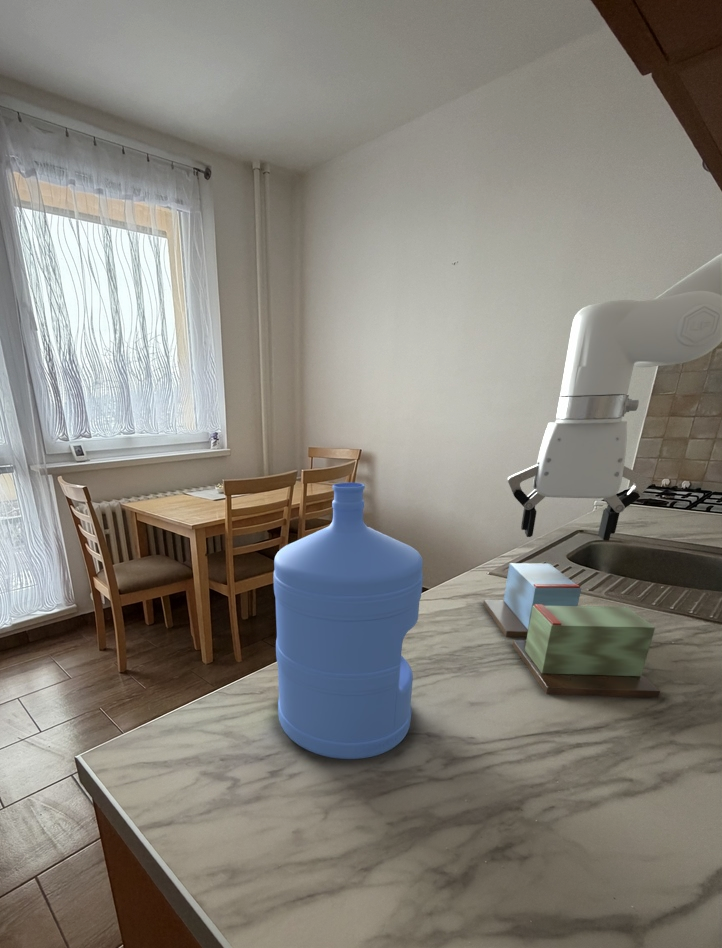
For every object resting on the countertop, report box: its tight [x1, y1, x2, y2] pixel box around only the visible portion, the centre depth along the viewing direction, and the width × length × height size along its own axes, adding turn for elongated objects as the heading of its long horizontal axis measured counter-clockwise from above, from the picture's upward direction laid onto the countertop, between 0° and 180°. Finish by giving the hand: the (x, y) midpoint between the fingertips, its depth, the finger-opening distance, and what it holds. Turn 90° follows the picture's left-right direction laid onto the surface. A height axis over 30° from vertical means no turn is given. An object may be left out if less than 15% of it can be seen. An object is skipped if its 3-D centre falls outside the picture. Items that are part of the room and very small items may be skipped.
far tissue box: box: [503, 562, 582, 629], centre depth 79 cm, size 12×6×7 cm, turn 173°
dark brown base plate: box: [482, 599, 528, 638], centre depth 81 cm, size 13×13×2 cm
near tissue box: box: [525, 604, 656, 676], centre depth 64 cm, size 12×6×7 cm, turn 83°
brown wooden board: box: [512, 639, 661, 699], centre depth 66 cm, size 13×13×2 cm
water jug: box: [272, 482, 424, 760], centre depth 53 cm, size 16×16×28 cm
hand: (564, 536), depth 70 cm, fingers open, 9 cm apart
